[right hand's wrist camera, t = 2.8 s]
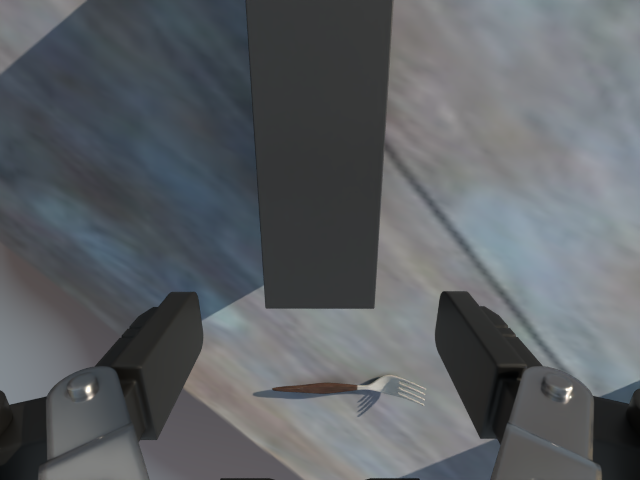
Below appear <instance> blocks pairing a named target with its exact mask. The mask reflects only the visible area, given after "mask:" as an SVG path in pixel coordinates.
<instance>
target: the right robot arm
mask: <svg viewBox="0 0 640 480" xmlns="http://www.w3.org/2000/svg"><path fill="white" fill-rule="evenodd" d="M435 342H436V347H437V350H438V353H439V355H440V357H441V359H442V361H443V363H444V365H445V367H446V369H447V371H448V373H449V375H450V377H451V379H452V381H453V383H454V385H455V388H456V390H457V392H458V394H459V396H460V398H461V400H462V402H463V404H464V406H465V408H466V410H467V412H468V414H469V416H470V418H471V420H472V422H473V424H474V427H475V429H476V431H477V433H478V435H479V437H480V439H498V441H499V443H500V445H501V446H500V449H499V452H498V456H497V459H496V463H495V466H494V469H493V473H492V476H491V479H490V480H640V389H638V390H636V391H635V392H634V394H633V396H632V399H631V401H630V404H627V403H622V402H618V401H613V400H609V399H604V398H600V397H595V396H593V395H592V393H591V392H590V390H589V389H588V388H587V387H586V386H585V385H584V384H583V383H582V382H580V381H579V380H578V379H576V378H574V377H573V376H571V375H569V374H567V373H565V372H563V371H560V370H557V369H554V368H550V367H544V366H542V365H541V363H540V362H539V361H538V360H537V359H536V358H535V356H534V355H533V354H532V353H531V352H530V351H529V350H528V348H527V347H526V346H525V345H524V344H523V343H522V342H521V340H520V339H519V338H518V337H516V335H515V333H514V332H513V331H512V330H511V329H510V328H508V325H507V324H506V323H505V322H504V321H503V320H502V318H501V317H500V316H499V315H497V314H496V313H494V312H493V311H491V310H489V309H488V308H486V307H485V306H479V305H478V304H477V303H476V301H475V300H474V299H473V298H472V296H471V295H470V294H469V293H468V292H466V291H443V292H442V293H441V296H440V300H439V308H438V315H437V322H436V329H435ZM202 344H203V328H202V321H201V314H200V307H199V300H198V296H197V294H196V292H171V293H169V295H168V296H167V297H166V298H165V299H164V301H163V302H162V303H161V304H160V306H159V307H153V308H151V309H149V310H148V311H146V312H145V313H143V314H142V315H140V316H139V317H138V318H137V319H136V320H135V321H134V322H133V323H132V325H131V326H130V328H129V329H127V330H126V331H125V333H124V334H123V335H122V338H119V339H118V341H117V342H116V343H115V344H114V345H113V346H112V347H111V349H110V350H109V351H108V352H107V353H106V354H105V355H104V357H103V358H102V359H101V360H100V361H99V362H98V363H97V365H96V366H95V367H90V368H86V369H83V370H80V371H77V372H75V373H73V374H71V375H69V376H67V377H66V378H64V379H63V380H61V381H60V382H58V383H57V384H56V385H55V386H54V387H53V388H52V389H51V390H50V392H49V393H48V395H47V396H46V397H43V398H38V399H34V400H30V401H25V402H20V403H16V404H11V405H9V403H8V401H7V399H6V396H5V394H4V393H3V392H2V391H0V480H150V479H149V476H148V473H147V469H146V466H145V463H144V459H143V456H142V453H141V449H140V446H139V441H140V440H157V439H158V437H159V435H160V433H161V431H162V429H163V427H164V425H165V423H166V421H167V419H168V417H169V415H170V413H171V410H172V408H173V406H174V404H175V402H176V400H177V398H178V396H179V394H180V392H181V390H182V388H183V386H184V384H185V382H186V380H187V378H188V376H189V374H190V372H191V370H192V368H193V366H194V364H195V362H196V360H197V358H198V356H199V354H200V352H201V349H202ZM220 480H273V479H270V478H221V479H220ZM367 480H420V479H419V478H370V479H367Z"/></svg>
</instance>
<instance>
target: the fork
mask: <svg viewBox="0 0 640 480" xmlns="http://www.w3.org/2000/svg"><path fill="white" fill-rule="evenodd" d="M399 381H401V382H405V383H408V384H411V385H414V386H417V387H419V388H422V389H424V390H426V388H424V387H422V386H419V385H417V384H415V383H412V382H410V381H407V380H405V379H402V378H399V377H396V376H393V375H385V376H382V377H380V378H379V379H377V380H376V381H374V382H372V383H371V384H369V385H350V384H339V383H316V384H308V385H297V386H284V387H276V388H272V390H274V391H283V392H303V393H319V394H326V393H337V392H345V391H353V390H363V389H368V390H374V391H377V392H381V393H385V394H389V395H394V396H398V397H402V398H405V399H408V400H410V401H413V402H416V403H418V404H420V405H423V406H424V404H422V403H420V402H418V401H416V400H414V399H411V398H409V397H407V396H404V395H402V394H400V393H398V392H402V393H406V394H408V395H411V396H414V397H417V398H419V399H422V400H425V399H423V398H421V397H419V396H417V395H415V394H412V393H410V392H408V391H405V390H403V389H400V388H399V387H404V388H407V389H410V390H412V391H415V392H418V393H420V394H423V395H425V394H424V393H422V392H420V391H418V390H416V389H413V388H411V387H409V386H406V385H404V384H401V383H400V382H399Z"/></svg>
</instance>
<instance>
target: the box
mask: <svg viewBox="0 0 640 480" xmlns="http://www.w3.org/2000/svg"><path fill="white" fill-rule="evenodd" d="M246 14H247V29H248V45H249V60H250V76H251V91H252V106H253V122H254V137H255V153H256V168H257V184H258V199H259V215H260V230H261V245H262V261H263V276H264V292H265V307H266V308H312V309H374V305H375V289H376V273H377V257H378V241H379V225H380V209H381V193H382V177H383V161H384V145H385V129H386V113H387V97H388V81H389V64H390V48H391V32H392V16H393V0H246Z"/></svg>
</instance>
